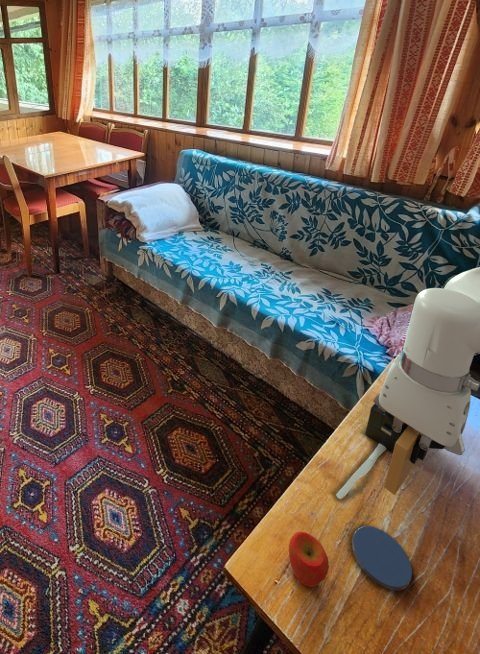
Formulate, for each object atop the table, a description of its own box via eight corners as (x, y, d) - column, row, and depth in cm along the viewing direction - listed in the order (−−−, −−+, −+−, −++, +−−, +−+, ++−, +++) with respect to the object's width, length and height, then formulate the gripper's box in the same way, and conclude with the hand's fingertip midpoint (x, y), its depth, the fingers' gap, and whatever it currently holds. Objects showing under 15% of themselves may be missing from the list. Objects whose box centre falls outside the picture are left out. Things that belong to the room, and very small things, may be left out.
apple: (330, 575, 66) (336, 550, 64) (314, 606, 63) (319, 581, 60) (296, 543, 71) (300, 519, 68) (279, 570, 67) (283, 545, 65)
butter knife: (407, 434, 89) (393, 424, 91) (346, 505, 76) (332, 492, 79) (406, 435, 89) (392, 426, 92) (345, 507, 76) (331, 494, 79)
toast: (407, 452, 66) (419, 409, 63) (417, 459, 65) (431, 416, 61) (383, 487, 61) (395, 442, 58) (394, 495, 60) (407, 450, 56)
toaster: (386, 407, 96) (393, 381, 93) (423, 429, 90) (431, 402, 87) (363, 437, 90) (369, 409, 86) (401, 463, 83) (409, 435, 80)
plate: (402, 540, 70) (403, 536, 70) (418, 601, 62) (419, 597, 62) (348, 522, 74) (349, 518, 73) (356, 577, 66) (357, 573, 65)
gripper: (511, 388, 51) (476, 477, 57) (384, 329, 63) (366, 408, 70) (496, 418, 47) (460, 510, 53) (363, 349, 59) (346, 430, 66)
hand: (407, 451), depth 61 cm, fingers closed on toast, 1 cm apart
